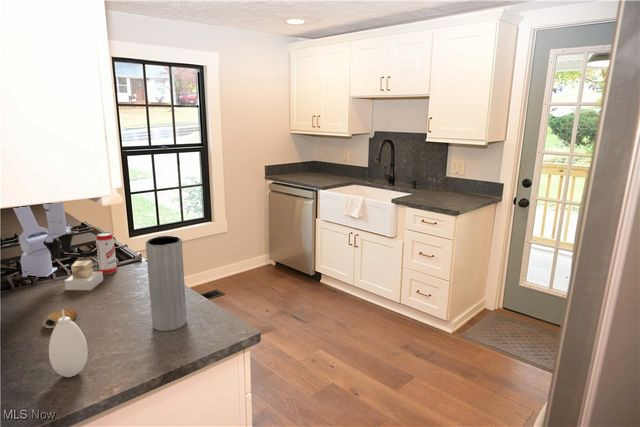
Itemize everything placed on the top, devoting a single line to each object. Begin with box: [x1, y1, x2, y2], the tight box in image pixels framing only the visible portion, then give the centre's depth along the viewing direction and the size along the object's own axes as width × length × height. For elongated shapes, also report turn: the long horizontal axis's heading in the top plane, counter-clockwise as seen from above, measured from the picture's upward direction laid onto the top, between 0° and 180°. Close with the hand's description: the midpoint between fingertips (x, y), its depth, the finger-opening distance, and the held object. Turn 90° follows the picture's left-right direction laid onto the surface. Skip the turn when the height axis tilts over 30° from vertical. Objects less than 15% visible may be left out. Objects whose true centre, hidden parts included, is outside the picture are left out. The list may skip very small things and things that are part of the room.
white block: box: [64, 270, 104, 291], centre depth 152 cm, size 9×9×4 cm
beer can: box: [95, 231, 118, 275], centre depth 163 cm, size 6×6×16 cm
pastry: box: [41, 308, 77, 329], centre depth 126 cm, size 9×7×4 cm
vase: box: [145, 235, 187, 332], centre depth 123 cm, size 10×10×27 cm
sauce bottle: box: [48, 308, 89, 378], centre depth 99 cm, size 8×8×18 cm
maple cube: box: [70, 260, 94, 279], centre depth 151 cm, size 5×5×5 cm
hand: (61, 255), depth 153 cm, fingers open, 7 cm apart
